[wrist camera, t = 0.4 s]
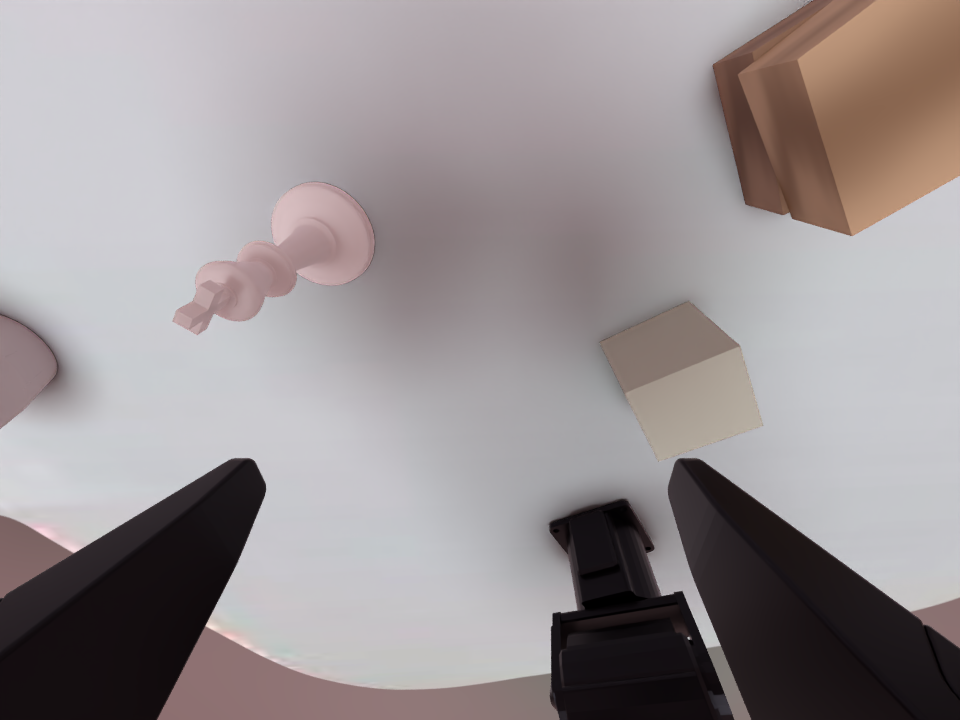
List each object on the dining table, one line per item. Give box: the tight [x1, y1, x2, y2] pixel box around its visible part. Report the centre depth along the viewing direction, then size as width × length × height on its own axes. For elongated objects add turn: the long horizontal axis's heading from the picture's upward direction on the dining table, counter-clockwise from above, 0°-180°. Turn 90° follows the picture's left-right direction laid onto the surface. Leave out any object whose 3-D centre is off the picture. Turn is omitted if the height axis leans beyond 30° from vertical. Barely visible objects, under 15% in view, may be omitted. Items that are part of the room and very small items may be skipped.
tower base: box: [713, 0, 833, 215], centre depth 14 cm, size 6×6×3 cm
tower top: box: [738, 0, 960, 236], centre depth 12 cm, size 6×6×3 cm
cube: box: [599, 301, 763, 462], centre depth 20 cm, size 5×5×5 cm
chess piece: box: [173, 182, 375, 335], centre depth 15 cm, size 5×5×10 cm
